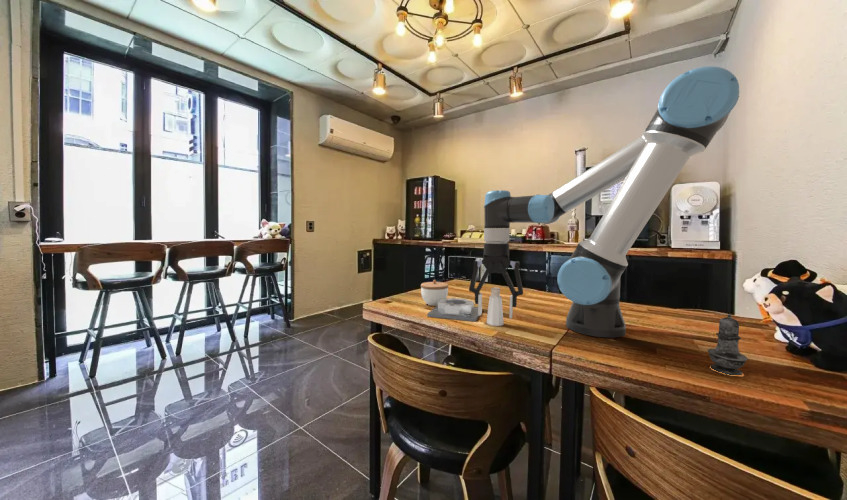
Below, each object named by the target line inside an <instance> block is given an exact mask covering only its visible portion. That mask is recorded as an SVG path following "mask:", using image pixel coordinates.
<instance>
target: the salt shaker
mask: <svg viewBox="0 0 847 500" xmlns="http://www.w3.org/2000/svg"><path fill="white" fill-rule="evenodd" d="M490 290H491V292H490V293H491V295H489V301H488V307H487V317H486V324H487V325H489V326H493V327H501V326H504V323H505V322H504V313H503V310H504V309H503V299H502V296H501V288H499V287H492V288H490Z"/></svg>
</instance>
